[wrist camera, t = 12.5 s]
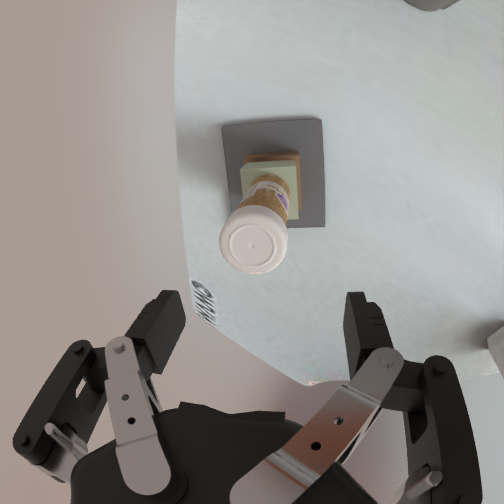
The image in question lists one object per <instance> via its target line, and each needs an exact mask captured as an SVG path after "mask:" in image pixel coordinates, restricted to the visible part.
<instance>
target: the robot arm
mask: <svg viewBox="0 0 504 504" xmlns="http://www.w3.org/2000/svg"><path fill="white" fill-rule="evenodd" d="M405 1H407V2H408V3H409V4H411V5H413V6H414V7H416V8H419V9H421V10H425V11H435V10H437V9H439V8H440V9H446V8H448V7H449V6H451V5H453V4H455V3H456V2H458V1H460V0H405ZM185 322H186V318H185V312H184V309H183V305H182V302H181V298H180V295H179V292H178V291H176V290H162V291H161V292H160V294H159V295H158V297H157V298H156V299H153V300H152V301H150V302H149V303H148V304H146V305H145V307H144V308H143V310H142V311H141V313H140V314H139V315H138V317H137V319H136V320H135V321H134V322H133V324H132V325H131V327H130V328H129V330H128V331H127V333H126V334H125V336H122V337H116V338H114V339H112V340H111V341H110V342H109V343H108V344H107V345H106V347H103V348H102V347H101V348H93V347H92V345H91V344H90V342H89V341H87V340H79V341H76V342H74V343H73V344H72V345H71V346H70V347H69V348H68V350H67V351H66V353H65V354H64V355H63V357H62V358H61V360H60V361H59V362H58V364H57V365H56V367H55V368H54V370H53V371H52V373H51V374H50V376H49V377H48V379H47V380H46V382H45V384H44V385H43V387H42V388H41V390H40V391H39V393H38V395H37V396H36V398H35V400H34V401H33V403H32V404H31V406H30V408H29V409H28V411H27V413H26V415H25V416H24V418H23V420H22V422H21V423H20V425H19V427H18V429H17V431H16V432H15V434H14V437H13V447H14V449H15V450H16V452H18V453H19V454H20V455H21V456H23V457H24V458H25V459H27V460H28V461H29V462H30V463H31V464H32V465H33V466H35V467H36V468H38V469H39V470H40V471H42V472H43V473H45V474H46V475H49V476H51V477H52V478H54V479H55V480H57V481H59V482H62V483H65V482H67V483H69V484H70V485H71V504H378V503H377V502H376V501H375V500H374V499H373V498H372V497H371V496H370V495H369V494H368V493H367V492H366V491H365V490H364V489H363V487H362V486H361V485H360V484H359V483H358V482H357V481H356V480H355V479H354V478H353V477H352V476H351V475H350V474H349V473H348V472H347V471H346V470H345V469H344V468H343V467H342V465H343V464H344V462H345V461H346V460H347V458H348V457H349V456H350V455H351V454H352V452H353V451H354V450H355V448H356V447H357V445H358V444H359V442H360V441H361V439H362V438H363V437H364V435H365V434H366V433H367V431H368V430H369V429H370V427H371V426H372V424H373V423H374V421H375V420H376V418H377V417H378V416H379V414H380V412H381V411H382V409H383V408H385V409H390V410H396V411H403V417H404V425H405V434H406V445H407V457H408V474H409V476H408V477H407V478H406V479H404V480H403V481H402V482H401V483H400V484H399V485H398V486H397V487H396V489H395V492H394V496H393V500H392V502H391V504H481V503H482V485H481V478H480V469H479V463H478V456H477V451H476V446H475V441H474V436H473V431H472V427H471V423H470V419H469V415H468V411H467V407H466V404H465V400H464V397H463V394H462V390H461V387H460V384H459V381H458V377H457V374H456V371H455V369H454V366H453V364H452V362H451V361H450V360H449V359H447V358H445V357H443V356H438V355H435V356H431V357H429V358H427V359H426V360H425V362H424V364H423V363H416V362H410V361H407V360H405V359H403V356H402V355H401V354H400V353H399V352H398V351H397V350H395V349H394V347H393V344H392V341H391V338H390V335H389V331H388V328H387V325H386V322H385V319H384V316H383V313H382V310H381V308H380V307H379V306H378V305H377V304H376V303H375V302H367V301H366V298H365V294H364V292H347V296H346V304H345V312H344V321H343V329H344V337H345V343H346V350H347V358H348V366H349V374H350V382H349V383H348V384H347V385H346V386H344V385H342V386H341V387H339V388H338V389H337V390H336V392H335V393H334V394H333V395H332V396H331V397H330V399H329V400H328V401H327V402H326V403H325V404H324V405H323V406H322V407H321V409H320V410H319V411H318V412H317V413H316V414H315V415H314V416H313V417H312V418H311V419H310V420H309V421H308V422H307V423H306V424H305V425H304V426H302V425H300V424H298V423H296V422H293V421H291V420H287V419H285V412H271V411H253V412H245V413H237V414H227V413H224V412H221V411H218V410H216V409H213V408H210V407H208V406H205V405H199V404H193V403H187V402H180V405H179V407H178V408H175V409H170V410H165V411H163V410H162V407H161V405H160V402H159V399H158V397H157V394H156V391H155V388H154V386H153V383H152V380H151V378H150V377H151V375H152V373H155V374H162V372H163V370H164V368H165V366H166V364H167V362H168V359H169V357H170V355H171V353H172V351H173V349H174V347H175V345H176V343H177V341H178V339H179V337H180V334H181V333H182V331H183V329H184V326H185ZM82 378H83V379H84V381H85V382H86V384H85V386H84V387H83V389H82V391H81V393H80V394H79V396H78V398H76V394H75V393H76V389H77V387H78V385H79V384H80V382H81V380H82ZM107 400H108V406H109V411H110V416H111V421H112V425H113V430H114V434H115V438H116V439H114V440H112V441H111V442H109V443H107V444H105V445H104V446H102V447H100V448H98V449H96V450H95V451H93V452H91V453H89V454H87V453H88V448H87V443H88V441H89V438H90V436H91V434H92V432H93V430H94V428H95V425H96V423H97V421H98V419H99V417H100V415H101V413H102V410H103V408H104V406H105V404H106V402H107Z"/></svg>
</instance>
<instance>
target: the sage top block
mask: <svg viewBox="0 0 504 504" xmlns="http://www.w3.org/2000/svg"><path fill="white" fill-rule="evenodd" d="M267 174H271V175H276V176H278V177H280V178H282V179H283V180H284V181H285V182H286V183H287V185H288V187H289V190H290V201H289V210H288V218H287V220H291V219H299V218H298V194H297V176H296V160H281V161H263V162H249V163H246V164H245V165H244V166H243V167H242V168H241V169H240V175H241V184H242V193H243V197H244V196H245V194H246V193H247V191H248V190H249V188H250V186H251V184H252V182H253V181H254V180H255V179H256V178H258V177H260V176H262V175H267Z"/></svg>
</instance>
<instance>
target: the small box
mask: <svg viewBox="0 0 504 504" xmlns="http://www.w3.org/2000/svg"><path fill="white" fill-rule="evenodd" d="M487 342H488V350H489V352H490V354H491V356H492V357H493V359H494V361H495V363H496V365H497V367H498V369H499V371H500V373H501V374H502V376H503V378H504V325H503V326H502V327H501V328H499V329H498V330H497V331H495V332H494V333H493V334H491V335H490V336H489V337H487Z"/></svg>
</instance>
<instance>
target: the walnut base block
mask: <svg viewBox="0 0 504 504" xmlns="http://www.w3.org/2000/svg"><path fill="white" fill-rule="evenodd" d="M281 160H296V176H297V194H298V210H302V196H301V176H300V159H299V151H297V152H276V153H260V154H249V155H247V156H246V157H245V158H244V159H243V166H244V165H245V164H246V163H249V162H263V161H281Z"/></svg>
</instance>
